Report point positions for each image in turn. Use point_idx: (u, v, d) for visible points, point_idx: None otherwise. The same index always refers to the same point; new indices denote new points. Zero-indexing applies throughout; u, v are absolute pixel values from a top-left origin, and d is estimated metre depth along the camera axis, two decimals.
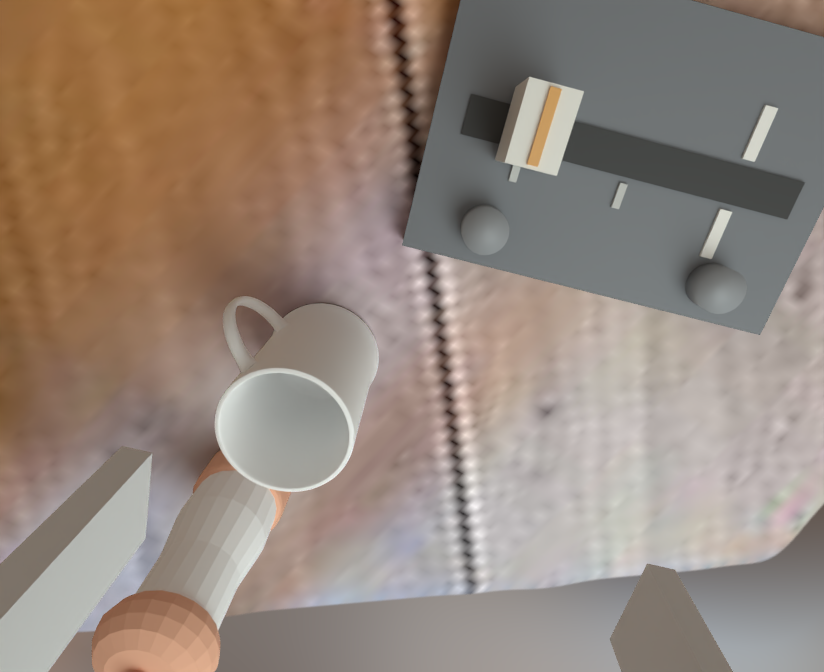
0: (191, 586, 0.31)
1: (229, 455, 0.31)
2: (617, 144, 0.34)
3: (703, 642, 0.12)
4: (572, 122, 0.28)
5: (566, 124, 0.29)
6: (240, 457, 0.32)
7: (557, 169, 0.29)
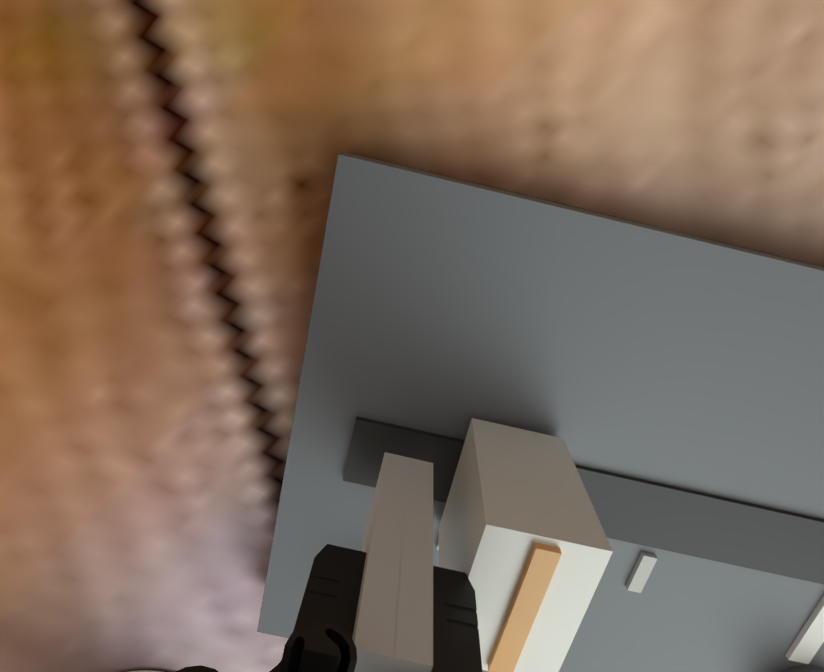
0: None
1: None
2: (638, 499, 0.18)
3: (420, 508, 0.14)
4: (586, 603, 0.13)
5: (572, 605, 0.13)
6: None
7: None
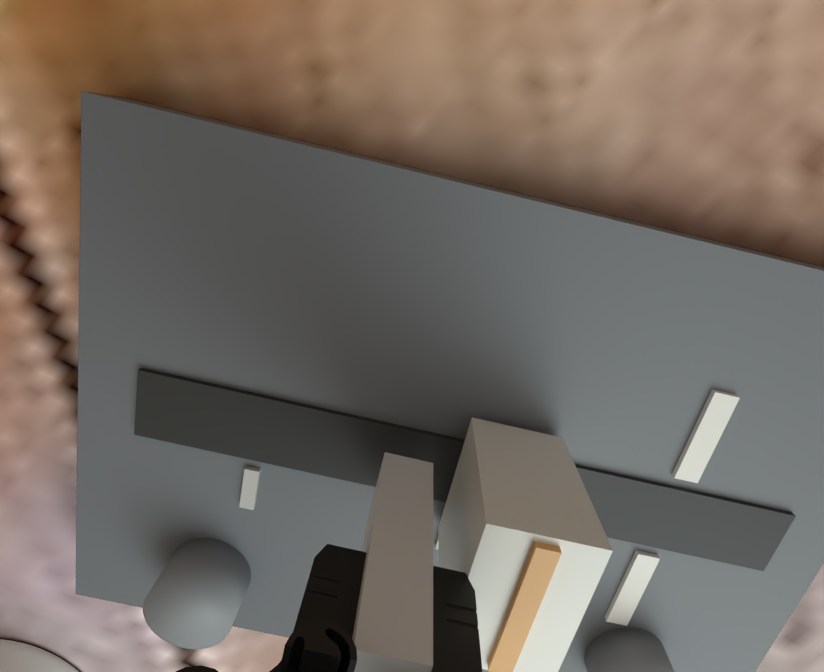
0: None
1: None
2: (432, 453, 0.17)
3: (420, 508, 0.14)
4: (586, 602, 0.13)
5: (572, 604, 0.13)
6: None
7: None
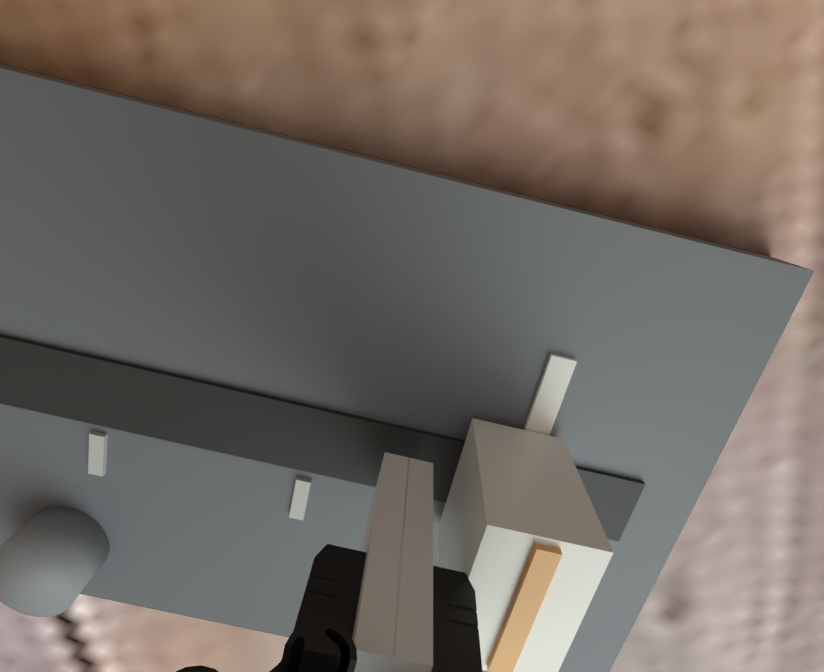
0: None
1: None
2: (275, 418, 0.17)
3: (420, 509, 0.14)
4: (586, 604, 0.13)
5: (571, 606, 0.13)
6: None
7: None
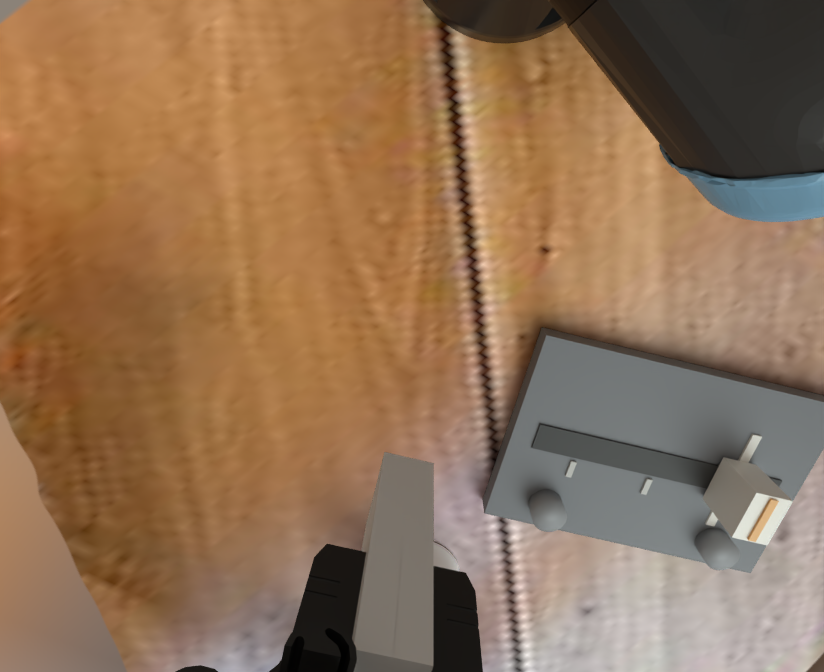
0: None
1: None
2: (645, 456, 0.46)
3: (420, 509, 0.14)
4: (782, 517, 0.42)
5: (777, 518, 0.42)
6: None
7: (768, 541, 0.43)
